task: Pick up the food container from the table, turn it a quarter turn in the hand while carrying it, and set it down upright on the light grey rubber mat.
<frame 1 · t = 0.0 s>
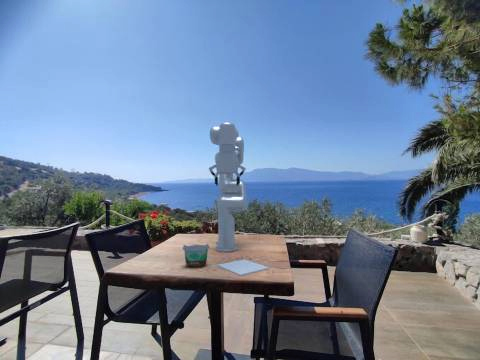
hand: (227, 185, 132), 37 cm above the table, tool pointing down, fingers open, 9 cm apart
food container: (196, 267, 129), on the table
mat: (242, 267, 127), on the table
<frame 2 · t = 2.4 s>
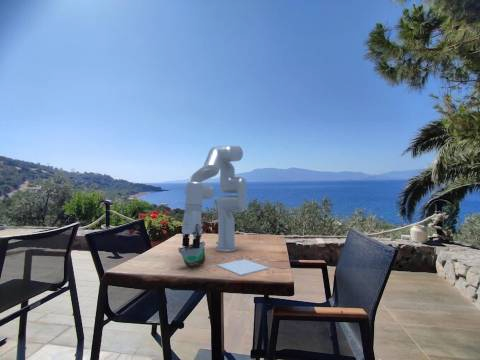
hand: (190, 247, 124), 10 cm above the table, tool pointing down, fingers open, 9 cm apart
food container: (196, 265, 128), point 1 cm above the table, touching gripper
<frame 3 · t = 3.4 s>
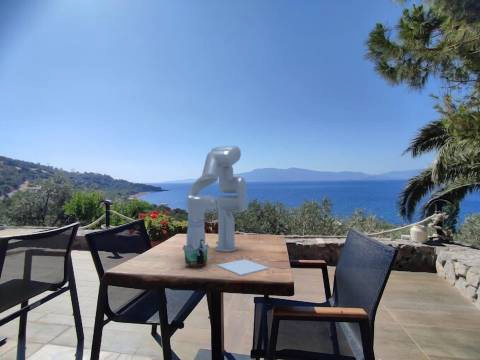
hand: (196, 262, 129), 2 cm above the table, tool pointing down, fingers open, 6 cm apart
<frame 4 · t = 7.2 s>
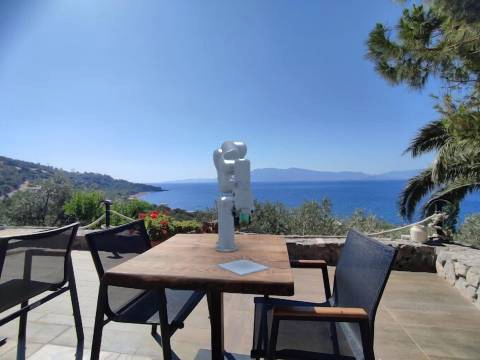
hand: (242, 224, 128), 19 cm above the table, tool pointing down, fingers closed on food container, 5 cm apart
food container: (243, 229, 128), point 17 cm above the table, touching gripper
when the fingers open (4 cm above the table, at t = 10.9 s): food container moves 1 cm, resting on mat.
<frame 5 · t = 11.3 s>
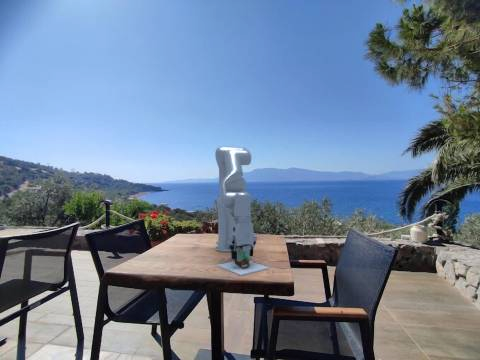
hand: (242, 257, 127), 5 cm above the table, tool pointing down, fingers open, 9 cm apart
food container: (244, 265, 128), resting on mat, touching gripper
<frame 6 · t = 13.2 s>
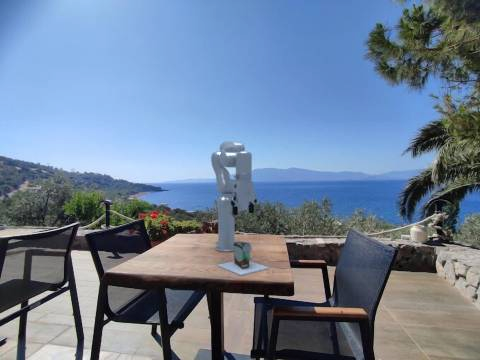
hand: (243, 214, 133), 24 cm above the table, tool pointing down, fingers open, 9 cm apart
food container: (244, 266, 128), resting on mat
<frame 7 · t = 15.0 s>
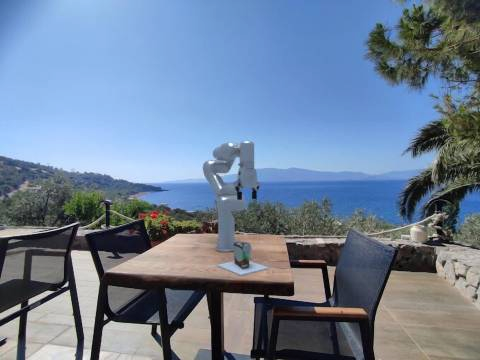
hand: (247, 199, 143), 30 cm above the table, tool pointing down, fingers open, 9 cm apart
nothing on the table moved.
at the end: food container inside the target area on the mat (1.2 cm from its centre), point 0.4 cm above the mat's base; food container tilted 0°; the gripper is holding nothing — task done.
